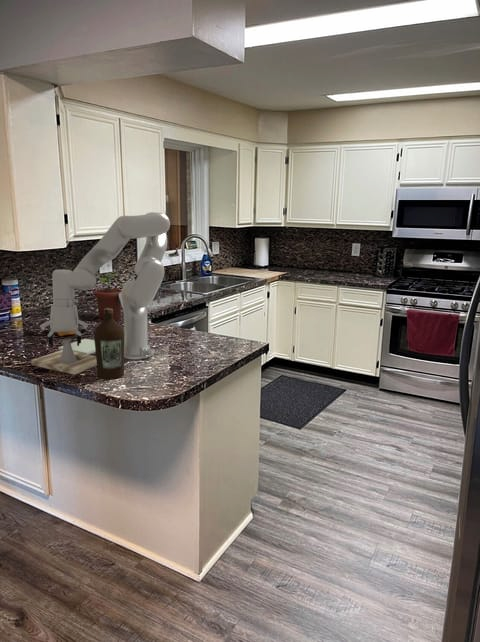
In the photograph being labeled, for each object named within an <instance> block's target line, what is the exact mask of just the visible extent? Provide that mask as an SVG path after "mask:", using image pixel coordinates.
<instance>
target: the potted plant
mask: <svg viewBox="0 0 480 642" xmlns="http://www.w3.org/2000/svg"><path fill="white" fill-rule="evenodd" d="M115 276H116V273H115V274H113V273H111V274H110V275H109V278H108V279H107V280H106V278H105V277H101V278H99V280H100V281H101V282H107V287H106V288H100V289H99V288H98V289H95V290H93V293H94V298H96V302H97V311H98V319H96V320H95V322H96V323H101V322H102V321H103V320H104V309H106V308H112V309H113V319H114V320H115V321H116V322H117V321H119V320H121V317H122V316H121V315H122V313H121V312H122V310H121V309H123V303H122V295H121V293H122V288H111V287H110V286H109V285H110V284H109V280H110V279H112V278H113V277H115Z"/></svg>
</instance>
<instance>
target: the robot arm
mask: <svg viewBox="0 0 480 642" xmlns="http://www.w3.org/2000/svg"><path fill="white" fill-rule="evenodd" d="M170 227H171V221H170V219H169V217H168V216H167V215H166V214H165V213H163V212H147V213H146V214H140V215H121V216H119V217H117V219H115V221H113V223H112V224H111V226H110V227H109V228H108V229H107V231H106V232H105V233H104V235H103V236H102V237H101V238H100V239H99V241H98V242H97V243H96V244H95V245H94V246H92V248H91V249H90V250H89V251H88V252H87V254H85V255H84V257H82V259H81V260H80V261H79V263H78V264H77V265H76V267H75V268H74V269H73V271H72V270H70V269H56V270H53V271H52V274H51V275H52V278H51V279H52V297H53V298H52V300H53V302H52V303H53V304H52V305H51V307H50V315H49V316H50V319H49V320H47V321H45V322H44V323H41V324H40V325H39V327H40V330H42V333H44V334H45V335H46V336H47V337H48V345H50V347H51V348H53V346H54V337H53V334H54V333H57V332H74V331H75V332H76V333H77V335H76V342H77V346H79V343H81V340H82V335H83V334H84V333H85V332H86V330H87V329H88V327H89V323H87V322H84V321H83V320H80V319H79V313H78V307H77V305H76V304H78V303H79V299H78V298H75V290H83V291H87V290H88V291H89V290H92V289H93V288H94V287H95V286H96V284H97V278H96V274H97V272H98V271H99V270H100V269H101V268H102V266H104V265H105V264H107V263H109V262H110V261H113V260H114V259H115V258H116V257H118V255H119V254H120V252H122V250H123V248H125V246H126V245H127V243H128V242H129V241H130V240H131V239H133V240H134V239H142V238H146V241H145V244H144V247H143V249H142V251H141V253H140V256H139V257H138V259H137V262H135V266H134V273H135V275H136V276H137V278H136V280H135V279H133V280H129V281H127V282H125V284H124V285H122V288H121V290H122V293H121V295H122V303H123V308H122V311H123V331H124V336H125V337H124V360H125V359H126V360H143V359H147V358H150V357H151V356H154V354H155V351H156V350H155V348H154V349H153V348H151V344H149V343H148V342H149V341H148V338H149V337H148V309H147V307H148V306H149V305H150V304H152V303H153V300H154V298H155V296H156V295H157V292H158V290H159V288H160V286H161V284H162V282H163V280H164V276H165V267H164V264H163V263H162V261H163V258H164V256H165V253H166V251H167V247H168V235H167V232H168V231H169V230H170ZM79 325H81V326H83V327H82V328H81V330H80V329H79ZM48 326H49V327H50V330H48V329H47V328H46V327H48Z"/></svg>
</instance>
